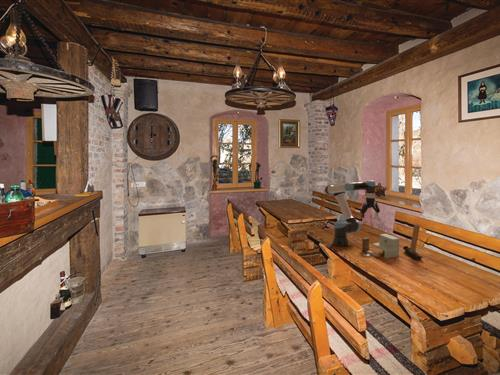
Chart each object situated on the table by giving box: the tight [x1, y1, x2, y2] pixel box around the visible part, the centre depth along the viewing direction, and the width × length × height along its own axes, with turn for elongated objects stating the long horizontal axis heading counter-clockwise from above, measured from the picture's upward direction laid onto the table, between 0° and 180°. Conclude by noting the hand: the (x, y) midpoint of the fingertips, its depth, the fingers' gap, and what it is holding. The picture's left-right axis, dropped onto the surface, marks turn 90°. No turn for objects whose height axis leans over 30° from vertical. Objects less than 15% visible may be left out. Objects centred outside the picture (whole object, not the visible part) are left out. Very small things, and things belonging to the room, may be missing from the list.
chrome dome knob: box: [363, 252, 372, 258], centre depth 237 cm, size 6×6×2 cm
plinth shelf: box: [371, 233, 400, 259], centre depth 239 cm, size 16×14×16 cm
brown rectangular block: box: [361, 237, 381, 258], centre depth 242 cm, size 18×4×12 cm, turn 18°
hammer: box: [402, 223, 424, 260], centre depth 230 cm, size 20×5×30 cm, turn 1°
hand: (369, 220), depth 247 cm, fingers open, 13 cm apart
